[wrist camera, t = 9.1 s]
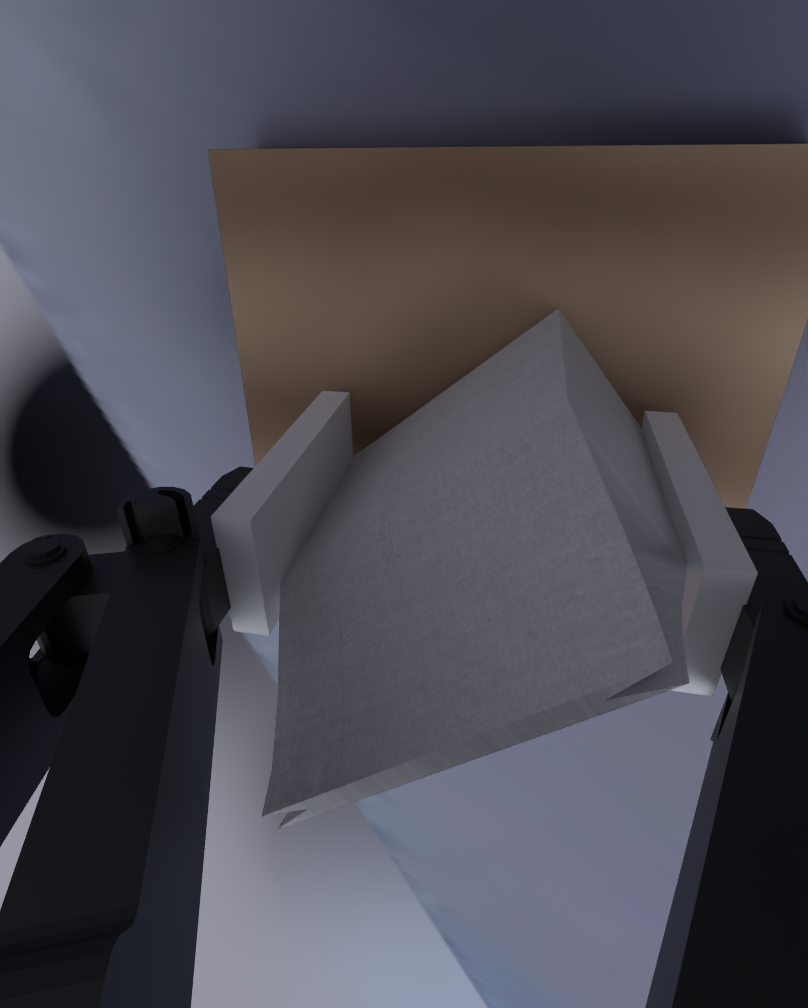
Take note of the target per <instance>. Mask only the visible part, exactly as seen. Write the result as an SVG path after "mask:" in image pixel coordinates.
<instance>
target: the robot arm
mask: <svg viewBox="0 0 808 1008" xmlns="http://www.w3.org/2000/svg"><path fill="white" fill-rule="evenodd" d="M641 431H642V434H643V437H644V440H645V443H646V446H647V449H648V452H649V455H650V457H651V460H652V463H653V466H654V469H655V472H656V475H657V478H658V481H659V484H660V487H661V489H662V492H663V495H664V498H665V501H666V504H667V507H668V510H669V513H670V516H671V519H672V521H673V524H674V527H675V530H676V533H677V536H678V539H679V542H680V545H681V548H682V551H683V553H684V556H685V559H686V563H687V569H686V577H685V585H684V594H683V602H682V628H683V647H684V652H685V658H686V664H687V670H688V676H689V682H690V683H689V684H686V685H683V686H680V687H677V688H675V689H672V690H671V691H678V692H686V693H693V694H700V695H708V696H713V695H714V692H715V689H716V687H717V684H718V681H719V678H720V676H721V673H722V675H723V678H724V681H725V684H726V687H727V690H728V694H727V697H726V700H725V702H724V705H723V708H722V710H721V713H720V715H719V718H718V721H717V723H716V726H715V729H714V731H713V734H712V736H711V739H710V740H712V741H713V745H712V749H711V753H710V757H709V761H708V765H707V769H706V773H705V777H704V781H703V784H702V788H701V792H700V796H699V800H698V804H697V808H696V812H695V816H694V820H693V824H692V827H691V831H690V835H689V839H688V843H687V847H686V851H685V855H684V859H683V863H682V867H681V870H680V874H679V878H678V882H677V886H676V890H675V894H674V898H673V902H672V906H671V909H670V913H669V917H668V921H667V925H666V929H665V933H664V937H663V941H662V945H661V949H660V952H659V956H658V960H657V964H656V968H655V972H654V976H653V980H652V984H651V988H650V992H649V995H648V999H647V1003H646V1007H645V1008H808V582H807V580H806V579H805V577H804V575H803V574H802V572H801V570H800V569H799V567H798V565H797V564H796V562H795V561H794V559H793V557H792V556H791V555H789V551H788V549H787V547H786V546H785V544H784V542H781V537H780V536H779V534H778V532H777V531H776V529H775V528H774V526H773V524H772V523H771V522H769V521H768V520H767V519H765V518H764V517H763V516H761V515H760V514H759V513H757V512H756V511H755V510H753V509H742V508H730V507H724V505H723V503H722V501H721V499H720V497H719V495H718V493H717V491H716V489H715V487H714V485H713V483H712V481H711V479H710V477H709V475H708V473H707V471H706V469H705V467H704V465H703V463H702V461H701V459H700V457H699V455H698V453H697V451H696V449H695V447H694V445H693V443H692V441H691V439H690V437H689V435H688V433H687V431H686V429H685V427H684V425H683V423H682V421H681V419H680V417H679V415H678V413H671V412H655V411H645V414H644V418H643V423H642V428H641ZM352 461H353V446H352V428H351V411H350V393H349V392H334V391H322V392H321V393H320V394H319V395H318V396H317V398H316V399H315V400H314V401H313V402H312V403H311V404H310V405H309V407H308V408H307V409H306V410H305V411H304V412H303V413H302V414H301V416H300V417H299V418H298V419H297V420H296V421H295V422H294V423H293V425H292V426H291V427H290V428H289V429H288V430H287V431H286V432H285V434H284V435H283V436H282V437H281V438H280V439H279V440H278V441H277V443H276V444H275V445H274V446H273V447H272V448H271V449H270V451H269V452H268V453H267V454H266V455H265V456H264V457H263V458H262V460H261V461H260V462H259V463H258V464H257V465H256V466H255V467H254V468H248V467H239V468H237V469H235V470H233V471H231V472H229V473H227V474H225V475H223V476H222V477H221V478H220V479H219V480H218V481H217V482H216V483H215V484H214V485H213V486H212V487H211V490H208V491H207V492H206V493H205V494H204V496H203V497H202V499H200V500H199V501H198V502H197V503H196V504H195V505H194V506H193V503H192V498H191V494H190V493H188V492H187V491H186V490H184V489H180V488H176V487H157V488H151V489H146V490H143V491H140V492H137V493H134V494H132V495H130V496H129V497H127V498H125V499H124V500H122V501H121V502H120V503H119V505H118V506H117V507H116V511H117V514H118V518H119V521H120V524H121V528H122V531H123V534H124V538H125V541H126V545H127V547H126V550H125V551H123V552H115V553H104V554H93V555H88V553H87V550H86V547H85V543H84V540H83V539H81V538H80V537H78V536H77V535H71V534H50V535H45V536H44V537H43V536H41V537H38V538H35V539H33V540H32V541H29V542H27V543H25V544H23V545H21V546H20V547H18V548H17V549H15V550H14V551H13V552H11V553H10V554H9V555H8V556H7V557H6V558H5V559H4V560H3V561H2V562H1V563H0V846H1V845H2V843H3V841H4V840H5V838H6V837H7V835H8V833H9V832H10V830H11V829H12V827H13V825H14V824H15V822H16V820H17V819H18V817H19V816H20V814H21V813H22V811H23V809H24V807H25V806H26V804H27V803H28V801H29V799H30V798H31V796H32V795H33V793H34V791H35V790H36V788H37V787H38V785H39V784H40V782H41V780H42V779H43V777H44V775H45V774H46V772H47V771H48V769H49V767H50V769H49V772H48V774H47V777H46V780H45V783H44V786H43V789H42V792H41V795H40V797H39V801H38V803H37V806H36V809H35V812H34V815H33V818H32V821H31V824H30V826H29V829H28V832H27V835H26V838H25V841H24V844H23V846H22V849H21V852H20V855H19V858H18V861H17V864H16V867H15V869H14V872H13V875H12V878H11V881H10V884H9V887H8V890H7V893H6V895H5V898H4V901H3V904H2V907H1V910H0V1008H191V998H192V987H193V975H194V963H195V951H196V941H197V929H198V918H199V906H200V895H201V883H202V872H203V861H204V849H205V848H204V847H205V837H206V825H207V814H208V803H209V792H210V780H211V768H212V757H213V746H214V733H215V722H216V711H217V699H218V688H219V677H220V665H221V654H222V642H223V641H222V636H221V631H220V627H219V624H220V623H221V621H222V619H223V618H224V617H225V615H226V614H227V612H228V611H229V610H230V615H231V620H232V624H233V630H234V631H238V632H245V633H253V634H260V635H267V636H269V635H270V633H271V631H272V629H273V628H274V626H275V624H276V622H277V620H278V619H279V614H280V584H281V581H282V579H283V577H284V575H285V574H286V572H287V570H288V569H289V567H290V565H291V564H292V562H293V560H294V559H295V557H296V555H297V554H298V552H299V550H300V549H301V547H302V545H303V543H304V542H305V540H306V538H307V537H308V535H309V533H310V532H311V530H312V528H313V527H314V525H315V523H316V522H317V520H318V518H319V517H320V515H321V513H322V511H323V510H324V508H325V506H326V505H327V503H328V501H329V500H330V498H331V496H332V495H333V493H334V491H335V490H336V488H337V486H338V484H339V483H340V481H341V479H342V478H343V476H344V474H345V473H346V471H347V469H348V468H349V466H350V464H351V463H352ZM36 640H37V641H38V644H39V646H40V649H39V650H38V651H37V653H36V654H35V655H34V656H33V657H32V658H31V659H30V658H29V655H30V650H31V648H32V646H33V645H34V643H35V641H36Z"/></svg>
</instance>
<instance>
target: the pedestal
mask: <svg viewBox="0 0 808 1008" xmlns="http://www.w3.org/2000/svg"><path fill="white" fill-rule="evenodd" d="M208 153H209V160H210V166H211V173H212V180H213V187H214V193H215V200H216V207H217V213H218V220H219V227H220V233H221V240H222V247H223V253H224V260H225V267H226V273H227V280H228V287H229V293H230V300H231V307H232V313H233V320H234V327H235V333H236V340H237V347H238V353H239V360H240V367H241V373H242V380H243V387H244V393H245V400H246V407H247V413H248V420H249V427H250V434H251V440H252V447H253V454H254V460H255V466H256V465H257V464H258V463H259V462H260V461H261V460H262V458H263V457H264V456H265V455H266V454H267V453H268V452H269V451H270V449H271V448H272V447H273V446H274V445H275V444H276V443H277V441H278V440H279V439H280V438H281V437H282V436H283V435H284V434H285V432H286V431H287V430H288V429H289V428H290V427H291V426H292V425H293V423H294V422H295V421H296V420H297V419H298V418H299V417H300V416H301V414H302V413H303V412H304V411H305V410H306V409H307V408H308V407H309V405H310V404H311V403H312V402H313V401H314V400H315V399H316V398H317V396H318V395H319V394H320V393H321V392H322V391H334V392H349V393H350V411H351V428H352V446H353V458H354V457H355V455H357V454H358V453H359V452H361V451H362V450H364V449H365V448H366V447H368V446H369V445H370V444H372V443H373V442H375V441H376V440H377V439H379V438H380V437H381V436H383V435H384V434H386V433H387V432H388V431H390V430H391V429H393V428H394V427H395V426H397V425H398V424H399V423H401V422H402V421H404V420H405V419H406V418H408V417H409V416H410V415H412V414H413V413H415V412H416V411H417V410H419V409H420V408H422V407H423V406H424V405H426V404H427V403H428V402H430V401H431V400H433V399H434V398H435V397H437V396H438V395H439V394H441V393H442V392H444V391H445V390H446V389H448V388H449V387H451V386H452V385H453V384H455V383H456V382H457V381H459V380H460V379H462V378H463V377H464V376H466V375H467V374H468V373H470V372H471V371H473V370H474V369H475V368H477V367H478V366H480V365H481V364H482V363H484V362H485V361H486V360H488V359H489V358H491V357H492V356H493V355H495V354H496V353H497V352H499V351H500V350H502V349H503V348H504V347H506V346H507V345H509V344H510V343H511V342H513V341H514V340H515V339H517V338H518V337H520V336H521V335H522V334H524V333H525V332H526V331H528V330H529V329H531V328H532V327H533V326H535V325H536V324H538V323H539V322H540V321H542V320H543V319H544V318H546V317H547V316H549V315H550V314H551V313H553V312H554V311H555V310H557V309H558V308H559V310H560V311H561V313H562V314H563V315H564V317H565V318H566V320H567V321H568V323H569V324H570V326H571V327H572V328H573V330H574V331H575V333H576V334H577V336H578V337H579V339H580V340H581V342H582V343H583V344H584V346H585V347H586V349H587V350H588V352H589V353H590V355H591V356H592V357H593V359H594V360H595V362H596V363H597V365H598V366H599V368H600V369H601V370H602V372H603V373H604V375H605V376H606V378H607V379H608V381H609V382H610V383H611V385H612V386H613V388H614V389H615V391H616V392H617V394H618V395H619V396H620V398H621V399H622V401H623V402H624V404H625V405H626V407H627V408H628V409H629V411H630V412H631V414H632V415H633V417H634V418H635V420H636V421H637V422H638V424H639V425H640V428H642V423H643V418H644V414H645V411H655V412H671V413H678V415H679V417H680V419H681V421H682V423H683V425H684V427H685V429H686V431H687V433H688V435H689V437H690V439H691V441H692V443H693V445H694V447H695V449H696V451H697V453H698V455H699V457H700V459H701V461H702V463H703V465H704V467H705V469H706V471H707V473H708V475H709V477H710V479H711V481H712V483H713V485H714V487H715V489H716V491H717V493H718V495H719V497H720V499H721V501H722V503H723V505H724V507H730V508H742V509H746V506H747V503H748V500H749V497H750V494H751V491H752V488H753V485H754V482H755V479H756V475H757V472H758V469H759V466H760V463H761V460H762V457H763V454H764V451H765V448H766V445H767V442H768V439H769V436H770V433H771V430H772V427H773V424H774V421H775V418H776V415H777V412H778V408H779V405H780V402H781V399H782V396H783V393H784V390H785V387H786V384H787V381H788V378H789V375H790V372H791V369H792V366H793V363H794V360H795V357H796V354H797V351H798V348H799V345H800V341H801V338H802V335H803V332H804V329H805V326H806V323H807V320H808V144H711V145H599V146H486V147H374V148H261V149H208Z"/></svg>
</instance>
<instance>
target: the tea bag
mask: <svg viewBox="0 0 808 1008" xmlns="http://www.w3.org/2000/svg"><path fill="white" fill-rule="evenodd" d="M686 569H687V563H686V559H685V556H684V553H683V551H682V548H681V545H680V542H679V539H678V536H677V533H676V530H675V527H674V524H673V521H672V519H671V516H670V513H669V510H668V507H667V504H666V501H665V498H664V495H663V492H662V489H661V487H660V484H659V481H658V478H657V475H656V472H655V469H654V466H653V463H652V460H651V457H650V455H649V452H648V449H647V446H646V443H645V440H644V437H643V434H642V431H641V428H640V425H639V424H638V422H637V421H636V420H635V418H634V417H633V415H632V414H631V412H630V411H629V409H628V408H627V407H626V405H625V404H624V402H623V401H622V399H621V398H620V396H619V395H618V394H617V392H616V391H615V389H614V388H613V386H612V385H611V383H610V382H609V381H608V379H607V378H606V376H605V375H604V373H603V372H602V370H601V369H600V368H599V366H598V365H597V363H596V362H595V360H594V359H593V357H592V356H591V355H590V353H589V352H588V350H587V349H586V347H585V346H584V344H583V343H582V342H581V340H580V339H579V337H578V336H577V334H576V333H575V331H574V330H573V328H572V327H571V326H570V324H569V323H568V321H567V320H566V318H565V317H564V315H563V314H562V313H561V311H560V310H559V308H558V309H557V310H555V311H554V312H553V313H551V314H550V315H549V316H547V317H546V318H544V319H543V320H542V321H540V322H539V323H538V324H536V325H535V326H533V327H532V328H531V329H529V330H528V331H526V332H525V333H524V334H522V335H521V336H520V337H518V338H517V339H515V340H514V341H513V342H511V343H510V344H509V345H507V346H506V347H504V348H503V349H502V350H500V351H499V352H497V353H496V354H495V355H493V356H492V357H491V358H489V359H488V360H486V361H485V362H484V363H482V364H481V365H480V366H478V367H477V368H475V369H474V370H473V371H471V372H470V373H468V374H467V375H466V376H464V377H463V378H462V379H460V380H459V381H457V382H456V383H455V384H453V385H452V386H451V387H449V388H448V389H446V390H445V391H444V392H442V393H441V394H439V395H438V396H437V397H435V398H434V399H433V400H431V401H430V402H428V403H427V404H426V405H424V406H423V407H422V408H420V409H419V410H417V411H416V412H415V413H413V414H412V415H410V416H409V417H408V418H406V419H405V420H404V421H402V422H401V423H399V424H398V425H397V426H395V427H394V428H393V429H391V430H390V431H388V432H387V433H386V434H384V435H383V436H381V437H380V438H379V439H377V440H376V441H375V442H373V443H372V444H370V445H369V446H368V447H366V448H365V449H364V450H362V451H361V452H359V453H358V454H357V455H355V457H354V458H353V461H352V463H351V464H350V466H349V468H348V469H347V471H346V473H345V474H344V476H343V478H342V479H341V481H340V483H339V484H338V486H337V488H336V490H335V491H334V493H333V495H332V496H331V498H330V500H329V501H328V503H327V505H326V506H325V508H324V510H323V511H322V513H321V515H320V517H319V518H318V520H317V522H316V523H315V525H314V527H313V528H312V530H311V532H310V533H309V535H308V537H307V538H306V540H305V542H304V543H303V545H302V547H301V549H300V550H299V552H298V554H297V555H296V557H295V559H294V560H293V562H292V564H291V565H290V567H289V569H288V570H287V572H286V574H285V575H284V577H283V579H282V581H281V584H280V614H279V661H278V705H277V717H276V728H275V740H274V751H273V763H272V771H271V776H270V780H269V785H268V790H267V794H266V799H265V804H264V809H263V813H262V816H268V815H274V814H280V813H286V812H288V813H287V814H286V816H285V818H284V819H283V821H282V822H281V824H280V826H279V827H278V829H280V828H282V827H285V826H288V825H291V824H294V823H297V822H299V821H302V820H305V819H308V818H310V817H313V816H316V815H319V814H322V813H325V812H328V811H330V810H333V809H336V808H339V807H341V806H345V805H347V804H350V803H353V802H356V801H359V800H361V799H364V798H367V797H370V796H373V795H376V794H378V793H381V792H384V791H387V790H390V789H392V788H395V787H398V786H401V785H404V784H407V783H409V782H412V781H415V780H418V779H421V778H424V777H426V776H429V775H432V774H435V773H438V772H440V771H443V770H446V769H449V768H452V767H455V766H457V765H460V764H463V763H466V762H469V761H471V760H474V759H477V758H480V757H483V756H486V755H488V754H491V753H494V752H497V751H500V750H502V749H505V748H508V747H511V746H514V745H517V744H519V743H522V742H525V741H528V740H531V739H534V738H536V737H539V736H542V735H545V734H548V733H550V732H553V731H556V730H559V729H562V728H565V727H567V726H570V725H573V724H576V723H579V722H581V721H584V720H587V719H590V718H593V717H596V716H598V715H601V714H604V713H607V712H610V711H613V710H615V709H618V708H621V707H624V706H627V705H629V704H632V703H635V702H638V701H641V700H644V699H646V698H649V697H652V696H655V695H658V694H660V693H663V692H666V691H669V690H672V689H675V688H677V687H680V686H683V685H686V684H689V683H690V682H689V676H688V670H687V664H686V658H685V652H684V647H683V628H682V602H683V594H684V585H685V577H686Z"/></svg>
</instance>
